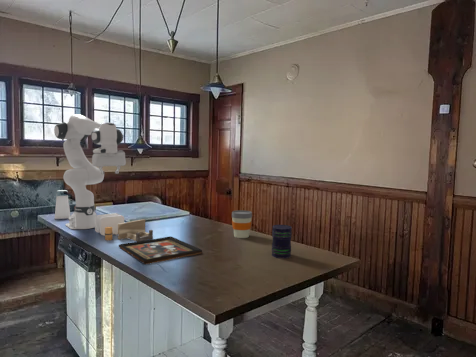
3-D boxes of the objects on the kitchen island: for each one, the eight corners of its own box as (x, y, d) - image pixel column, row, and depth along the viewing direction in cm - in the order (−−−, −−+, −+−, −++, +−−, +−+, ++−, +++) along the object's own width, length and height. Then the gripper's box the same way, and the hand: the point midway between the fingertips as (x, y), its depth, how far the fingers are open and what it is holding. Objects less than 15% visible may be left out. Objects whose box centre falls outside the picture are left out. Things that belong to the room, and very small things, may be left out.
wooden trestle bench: (118, 239, 208) (117, 223, 207) (143, 233, 222) (143, 219, 221) (132, 243, 200) (131, 227, 199) (157, 237, 214) (157, 222, 213)
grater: (55, 216, 269) (54, 189, 267) (70, 215, 273) (69, 189, 272) (54, 219, 259) (53, 191, 258) (70, 218, 264) (69, 191, 262)
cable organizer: (99, 237, 212) (98, 217, 211) (94, 233, 221) (94, 214, 219) (124, 233, 220) (124, 215, 219) (119, 230, 229) (119, 212, 228)
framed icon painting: (208, 252, 187) (208, 246, 186) (148, 268, 162) (148, 262, 162) (167, 238, 214) (167, 234, 214) (111, 250, 189) (111, 245, 189)
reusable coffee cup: (255, 236, 220) (256, 212, 219) (242, 240, 211) (242, 214, 210) (240, 232, 229) (241, 209, 227) (227, 236, 219) (227, 211, 218)
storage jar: (286, 259, 176) (286, 229, 174) (268, 256, 181) (268, 227, 179) (294, 254, 184) (295, 226, 183) (276, 251, 189) (277, 223, 188)
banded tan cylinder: (103, 239, 207) (103, 227, 206) (110, 238, 210) (109, 226, 209) (107, 240, 204) (107, 228, 203) (114, 239, 207) (113, 227, 207)
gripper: (121, 150, 219) (122, 172, 220) (90, 150, 203) (90, 174, 204) (127, 150, 215) (128, 173, 216) (96, 150, 199) (96, 175, 200)
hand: (109, 173), depth 210 cm, fingers open, 8 cm apart
